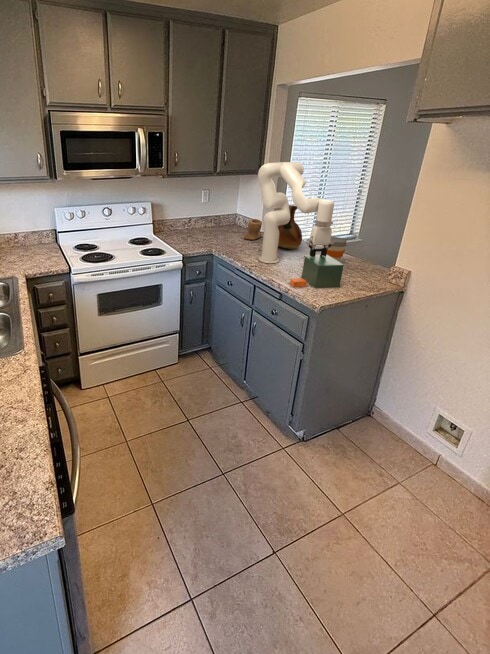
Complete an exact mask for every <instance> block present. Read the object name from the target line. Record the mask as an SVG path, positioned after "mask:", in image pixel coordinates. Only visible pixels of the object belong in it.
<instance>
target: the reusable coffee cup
mask: <svg viewBox="0 0 490 654" xmlns="http://www.w3.org/2000/svg"><path fill="white" fill-rule="evenodd" d="M331 239H332V240H333V241H334V244H332V245H331V247H330V248H329V249H328V250H327V254H326V255H329V256H330V257H332V258H334V259H335V260H337V261H338V262H340V263H341V260H342V258H343V256H344V253H345V250H346V246H347V240H346V239H345V238H343V237H340V236H339V237H337V236H331Z"/></svg>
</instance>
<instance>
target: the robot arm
mask: <svg viewBox="0 0 490 654" xmlns="http://www.w3.org/2000/svg"><path fill="white" fill-rule="evenodd" d="M304 172H305V168H304V166H303V164H302V163H301V162H298V161H295V162H293V161H292V162H291V161H278V162H267V163H264V164H263V165H261V167H260V168H259V169H258V173H257V179H258V182H259V187H260V191H261V193H260V194H261V197H262V198H261V200H262V204H263V208H265V210H270V211H268V212H266V213H265V214H264V216H263V219H262V221H263V222H262V224H263V234H262V245H261V253H260V254H261V256H260V255H259V257H258V261H259V262H261V263H264V264H277V263H279V262H280V259H279V258H278V249H279V246H278V242H279V230H278V226H281V225H285V224H287V223H288V222H289V221H290V210H289V205H290V204H289V198H288V197H287V195H286V194H285V193H284V192H280V191H279V192H277V189H276V184H275V182H274V180H273V179H272V178H280V177H281V178H282V179H283V180H284V181H285V183H286V184H287V186H288V187H289V189H290V190H291V198H292V201H293V204H294V206H297V209H298V211H299V212H301V213H302V214H311V213H316V219H315V225H313V227H312V229H311V232H310V236H309V239H308V240H307V241H306V242H305V244H306V246H307V247H308V248H309V255H310V256H312V257H314V252H315V250H314V249H315V248H316V247H317V246H323V248H324V251H323V254H322V255H323V256H325V257H326V254H327V250H328V249H329V248H330V247H331V245H332V244H334V241H333V240H332V239H331V237H332V235H333V234H332V232H333V231H332V230H333V229H332V225H334V221H332V220H333V214H334V208H335V202H334V201H333V200H327V199H323V198H320V197H312V198H307V197H306V195H305V194H304V192H303V188H304V187H305V186H306V184H307V181H306V179H305V178H304V176H303V174H304ZM271 210H272V211H271Z"/></svg>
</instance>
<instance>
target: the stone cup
mask: <svg viewBox="0 0 490 654" xmlns="http://www.w3.org/2000/svg"><path fill="white" fill-rule="evenodd" d="M262 224H263V222H262V220H260V219H258V218H251V219H250V220H249V221H248V225H247V230H248V233H247V234H245V235H243V238H244V239H246V240H251V241H254V240H255V241H256V240H257V239H259V238H260V237H262V235H261V234H260V233H259V232H260V230H261V228H262Z"/></svg>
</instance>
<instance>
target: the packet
mask: <svg viewBox="0 0 490 654" xmlns="http://www.w3.org/2000/svg"><path fill="white" fill-rule="evenodd" d="M289 280H290V281H289V284H290V285H291V286H292V287H293V288H305V287H307V285H308V284H307V283H308V282H307V281H306V280H305V279H303V278H302V277H301V278H300V277H299V278H298V277H297V278H290V279H289Z"/></svg>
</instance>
